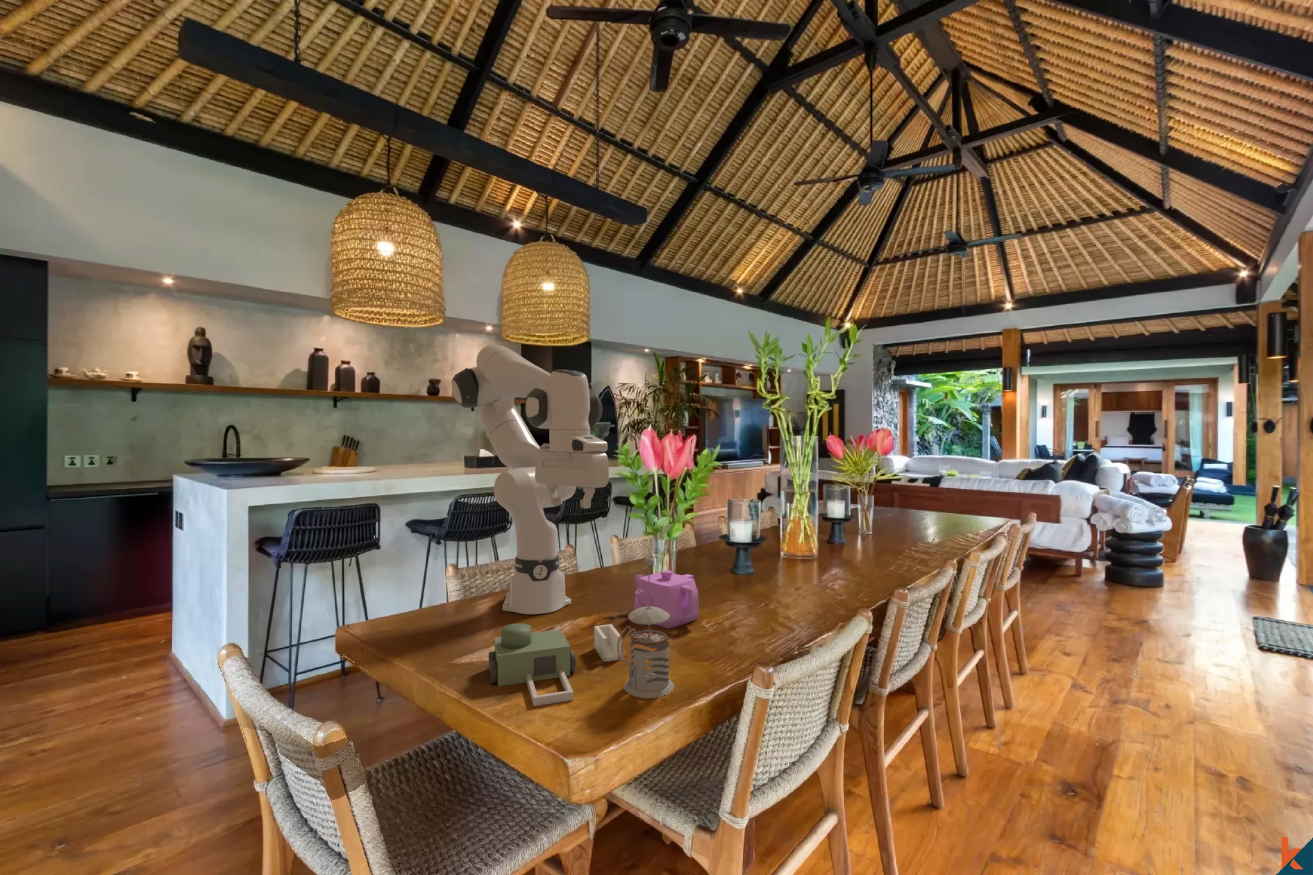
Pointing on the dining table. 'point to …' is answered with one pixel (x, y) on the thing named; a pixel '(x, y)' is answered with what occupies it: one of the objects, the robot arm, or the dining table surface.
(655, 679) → the french press
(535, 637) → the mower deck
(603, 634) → the slotted cream stand
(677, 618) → the teakettle
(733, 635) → the dining table surface
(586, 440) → the robot arm
